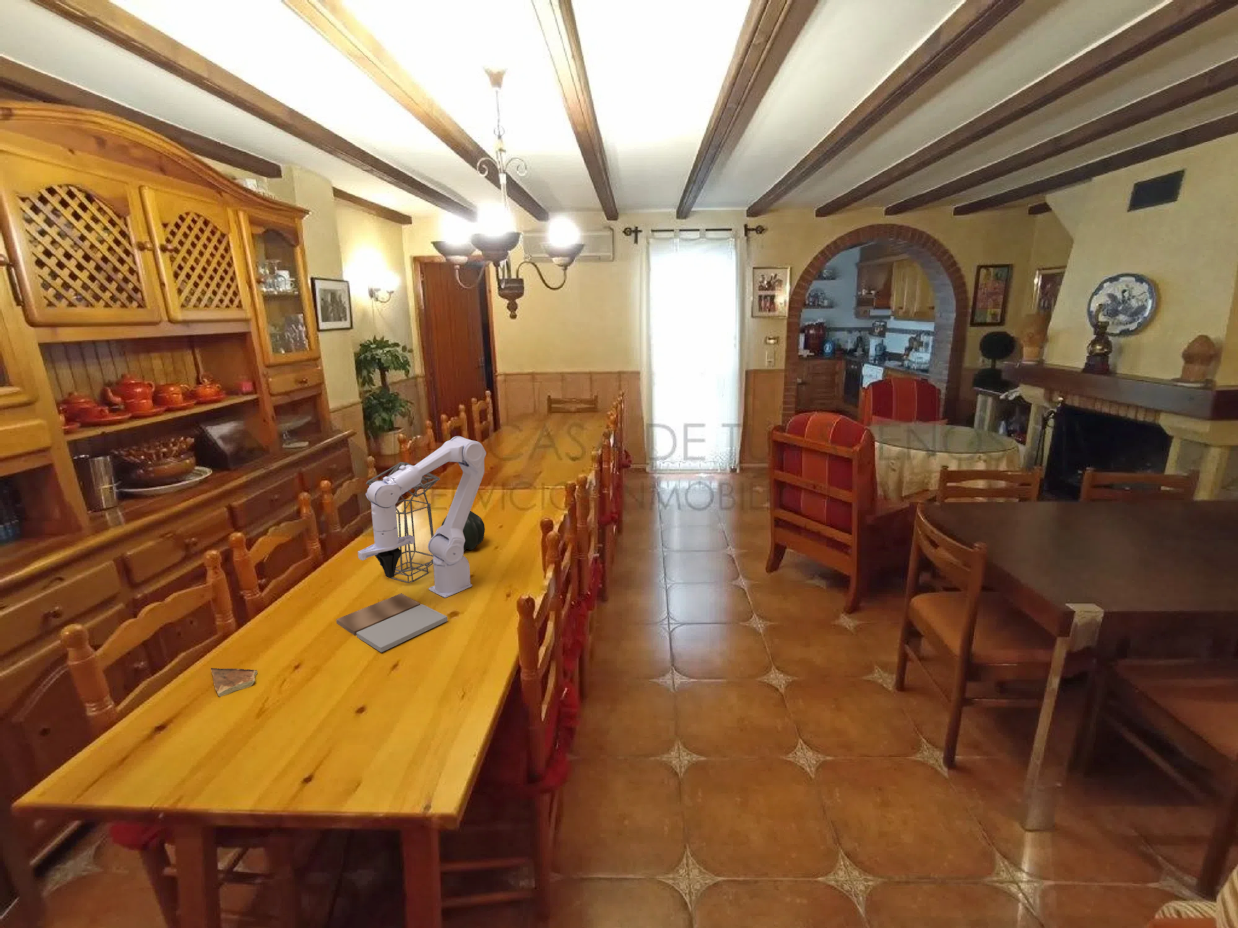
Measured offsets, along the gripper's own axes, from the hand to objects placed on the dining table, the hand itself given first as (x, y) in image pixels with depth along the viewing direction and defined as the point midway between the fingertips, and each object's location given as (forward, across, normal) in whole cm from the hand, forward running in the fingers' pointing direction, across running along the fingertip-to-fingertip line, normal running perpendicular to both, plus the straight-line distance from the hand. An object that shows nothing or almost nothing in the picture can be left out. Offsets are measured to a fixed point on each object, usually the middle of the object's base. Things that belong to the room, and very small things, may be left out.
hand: (389, 576), depth 145 cm
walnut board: (+9, +4, 0) cm, 10 cm away
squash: (+10, -38, -20) cm, 44 cm away
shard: (+10, +39, +2) cm, 40 cm away
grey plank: (+9, +4, +11) cm, 15 cm away
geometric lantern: (+10, -15, -15) cm, 23 cm away
